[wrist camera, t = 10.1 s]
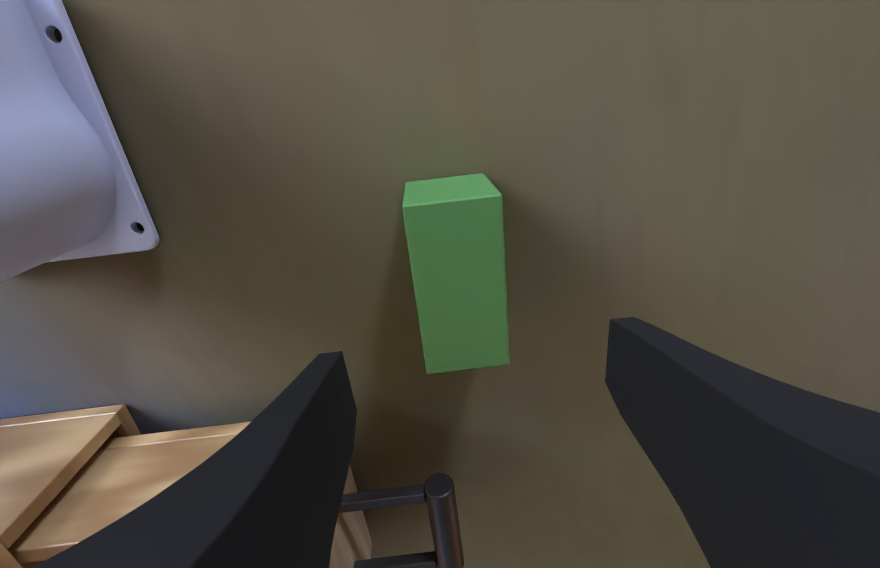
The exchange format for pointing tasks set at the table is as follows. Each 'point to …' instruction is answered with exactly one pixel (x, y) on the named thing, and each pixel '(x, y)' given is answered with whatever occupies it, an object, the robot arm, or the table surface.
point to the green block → (458, 271)
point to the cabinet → (48, 461)
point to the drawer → (178, 452)
